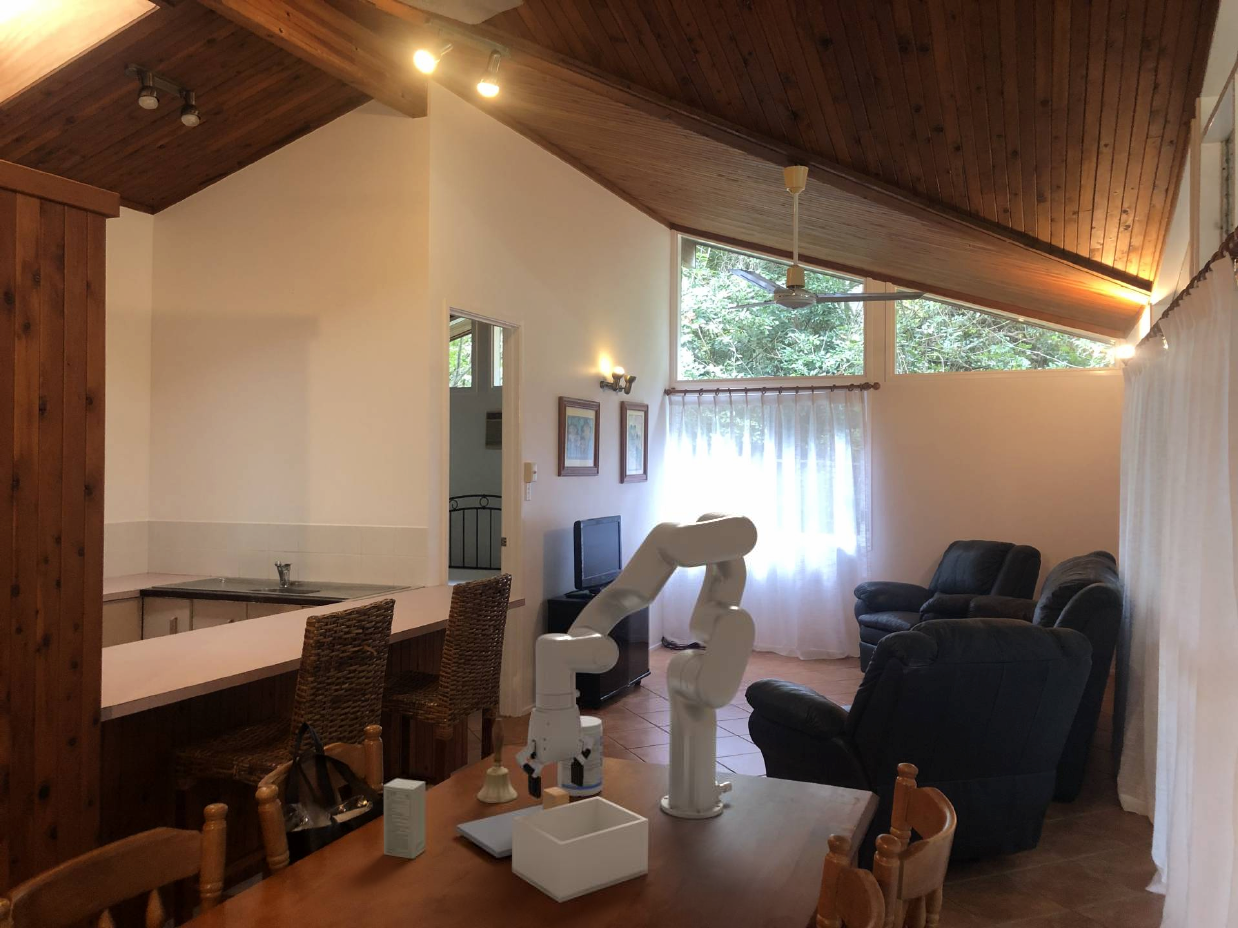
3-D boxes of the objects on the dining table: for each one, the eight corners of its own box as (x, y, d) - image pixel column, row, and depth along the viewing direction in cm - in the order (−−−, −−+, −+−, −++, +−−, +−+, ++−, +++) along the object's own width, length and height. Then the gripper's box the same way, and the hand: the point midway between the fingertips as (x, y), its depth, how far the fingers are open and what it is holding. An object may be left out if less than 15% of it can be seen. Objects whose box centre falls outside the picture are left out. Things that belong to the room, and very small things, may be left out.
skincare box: (426, 850, 162) (427, 781, 163) (412, 860, 158) (414, 789, 158) (395, 845, 165) (396, 776, 165) (381, 854, 160) (382, 784, 161)
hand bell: (470, 794, 191) (471, 717, 192) (504, 786, 196) (506, 712, 197) (489, 806, 185) (490, 726, 185) (524, 798, 190) (526, 720, 190)
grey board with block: (542, 815, 181) (543, 778, 181) (587, 839, 169) (587, 800, 170) (456, 837, 170) (456, 797, 170) (497, 864, 158) (498, 822, 158)
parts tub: (597, 846, 165) (598, 795, 166) (647, 873, 154) (648, 819, 155) (511, 871, 154) (512, 817, 154) (559, 902, 143) (560, 844, 143)
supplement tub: (610, 792, 194) (611, 722, 194) (571, 801, 188) (572, 729, 189) (586, 779, 202) (587, 712, 202) (548, 787, 197) (549, 718, 197)
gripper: (580, 689, 183) (581, 775, 183) (506, 703, 172) (506, 795, 172) (603, 696, 177) (604, 785, 177) (528, 711, 166) (528, 806, 166)
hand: (556, 790), depth 174 cm, fingers open, 9 cm apart
